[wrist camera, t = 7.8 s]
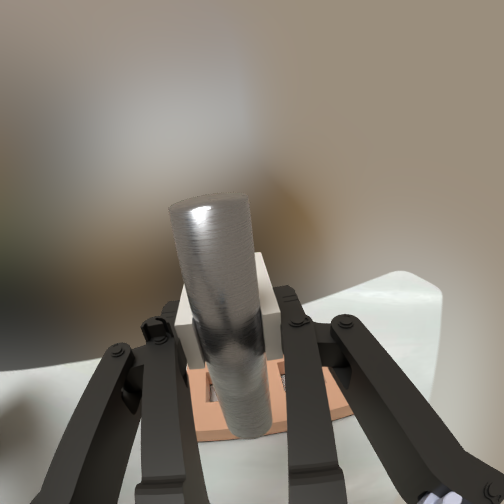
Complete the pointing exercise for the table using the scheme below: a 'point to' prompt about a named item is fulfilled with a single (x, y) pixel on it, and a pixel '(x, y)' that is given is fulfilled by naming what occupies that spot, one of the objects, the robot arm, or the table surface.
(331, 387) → the terracotta block
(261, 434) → the steel dowel
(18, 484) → the table surface
